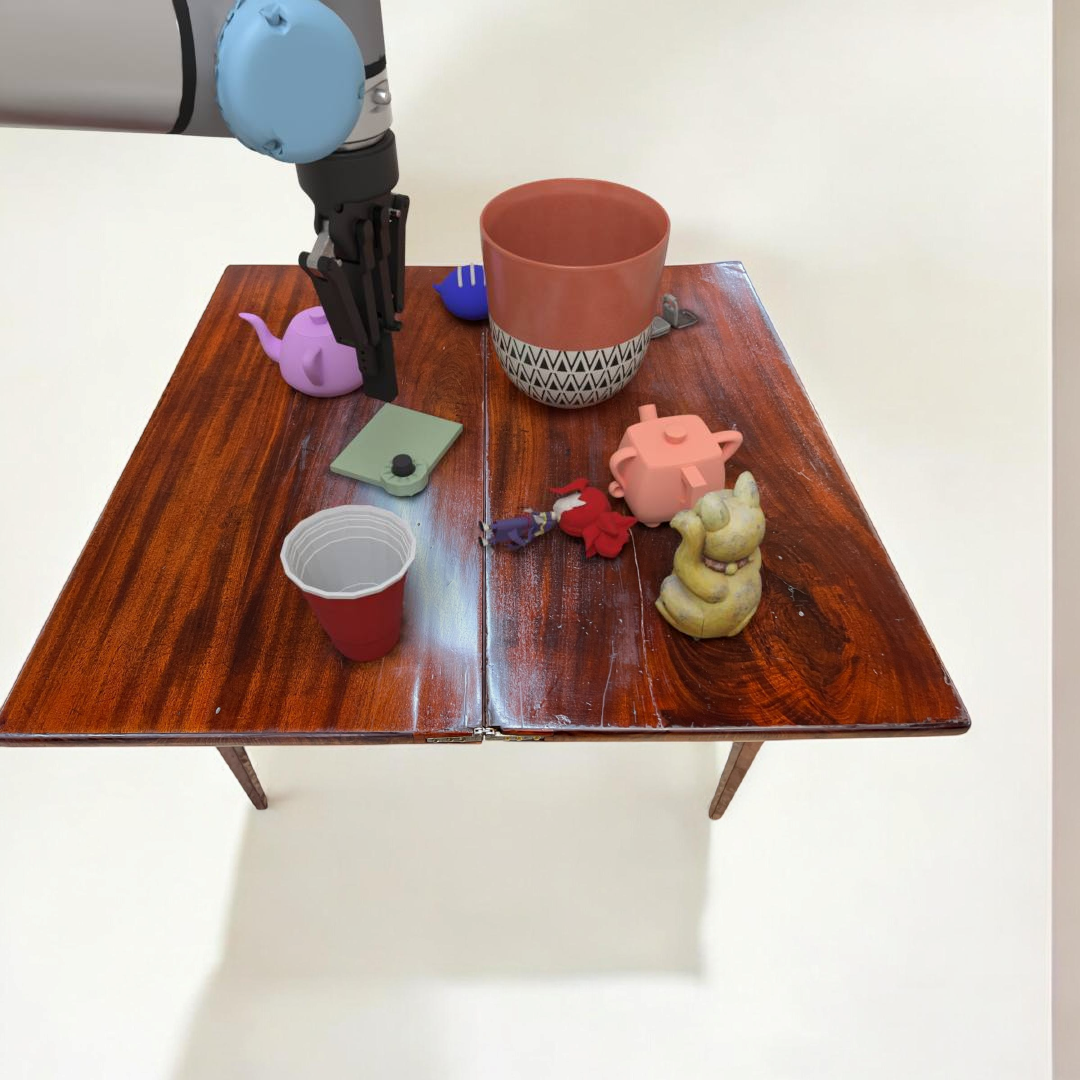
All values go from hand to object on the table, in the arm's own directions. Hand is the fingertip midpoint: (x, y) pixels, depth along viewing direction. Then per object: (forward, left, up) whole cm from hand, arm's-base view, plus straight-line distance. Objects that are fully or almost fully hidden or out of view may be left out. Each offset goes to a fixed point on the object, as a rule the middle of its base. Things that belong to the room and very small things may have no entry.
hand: (382, 395), depth 79 cm
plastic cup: (-4, -17, -14) cm, 22 cm away
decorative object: (+13, +35, -14) cm, 40 cm away
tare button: (+1, +2, -12) cm, 12 cm away
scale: (+1, +8, -14) cm, 16 cm away
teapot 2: (+28, -5, -14) cm, 31 cm away
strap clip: (+38, +26, -14) cm, 48 cm away
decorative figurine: (+27, -21, -14) cm, 37 cm away
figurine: (+15, -10, -14) cm, 23 cm away
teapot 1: (-6, +24, -14) cm, 29 cm away
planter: (+22, +15, -14) cm, 30 cm away
